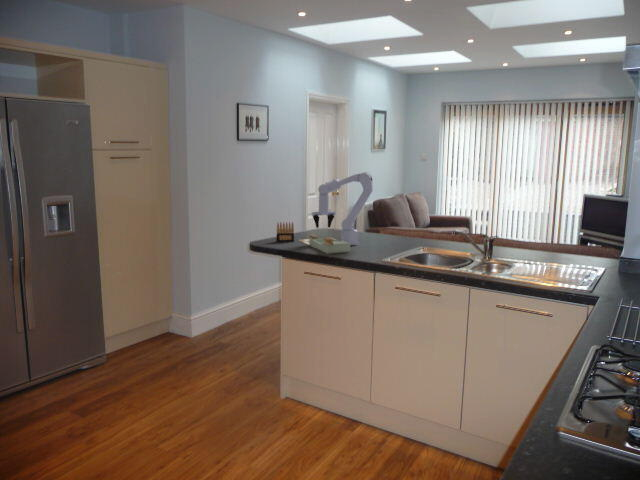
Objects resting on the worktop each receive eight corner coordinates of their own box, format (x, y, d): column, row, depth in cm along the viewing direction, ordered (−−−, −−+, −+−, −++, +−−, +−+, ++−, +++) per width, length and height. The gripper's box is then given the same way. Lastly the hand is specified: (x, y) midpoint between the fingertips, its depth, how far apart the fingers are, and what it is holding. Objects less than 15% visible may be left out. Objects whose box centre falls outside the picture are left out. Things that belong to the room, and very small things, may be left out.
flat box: (331, 244, 308) (331, 236, 307) (349, 252, 287) (350, 243, 286) (309, 245, 303) (309, 237, 302) (326, 253, 281) (326, 244, 280)
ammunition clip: (276, 242, 313) (276, 222, 310) (276, 241, 314) (276, 221, 312) (294, 241, 315) (294, 222, 313) (293, 241, 317) (293, 221, 314)
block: (328, 242, 285) (328, 237, 285) (333, 244, 280) (333, 239, 279) (323, 243, 284) (323, 237, 284) (328, 245, 279) (328, 239, 278)
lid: (319, 240, 325) (319, 233, 324) (329, 244, 310) (330, 237, 309) (298, 241, 320) (298, 234, 319) (308, 246, 305) (308, 238, 304)
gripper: (332, 203, 315) (331, 225, 317) (309, 204, 309) (309, 226, 312) (336, 204, 309) (336, 227, 311) (314, 205, 303) (313, 228, 305)
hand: (323, 227), depth 311 cm, fingers open, 7 cm apart
